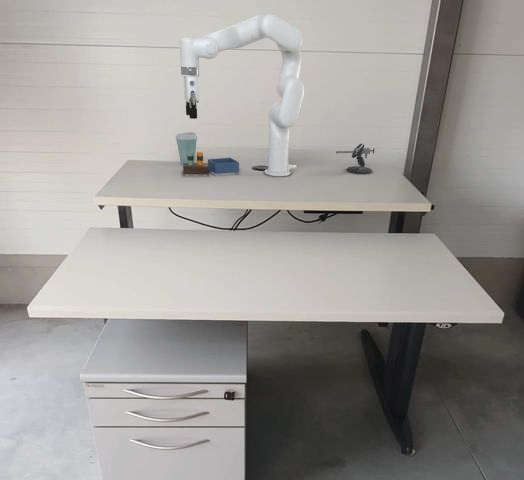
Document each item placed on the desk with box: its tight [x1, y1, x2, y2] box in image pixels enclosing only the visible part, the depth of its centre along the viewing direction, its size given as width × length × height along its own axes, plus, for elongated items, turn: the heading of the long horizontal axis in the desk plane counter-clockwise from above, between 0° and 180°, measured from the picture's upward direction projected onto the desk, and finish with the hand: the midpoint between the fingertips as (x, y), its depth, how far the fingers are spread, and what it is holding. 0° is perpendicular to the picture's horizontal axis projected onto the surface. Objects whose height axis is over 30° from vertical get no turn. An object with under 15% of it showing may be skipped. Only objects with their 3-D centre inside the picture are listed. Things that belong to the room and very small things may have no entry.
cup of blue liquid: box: [175, 131, 198, 165], centre depth 249 cm, size 11×11×15 cm
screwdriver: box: [196, 151, 204, 165], centre depth 234 cm, size 3×3×9 cm
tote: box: [207, 157, 240, 175], centre depth 241 cm, size 12×10×6 cm
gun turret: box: [335, 143, 376, 175], centre depth 250 cm, size 13×20×13 cm, turn 102°
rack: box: [182, 162, 209, 175], centre depth 236 cm, size 7×11×4 cm, turn 96°
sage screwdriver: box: [187, 152, 194, 165], centre depth 234 cm, size 3×3×9 cm
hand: (191, 116), depth 217 cm, fingers open, 9 cm apart
